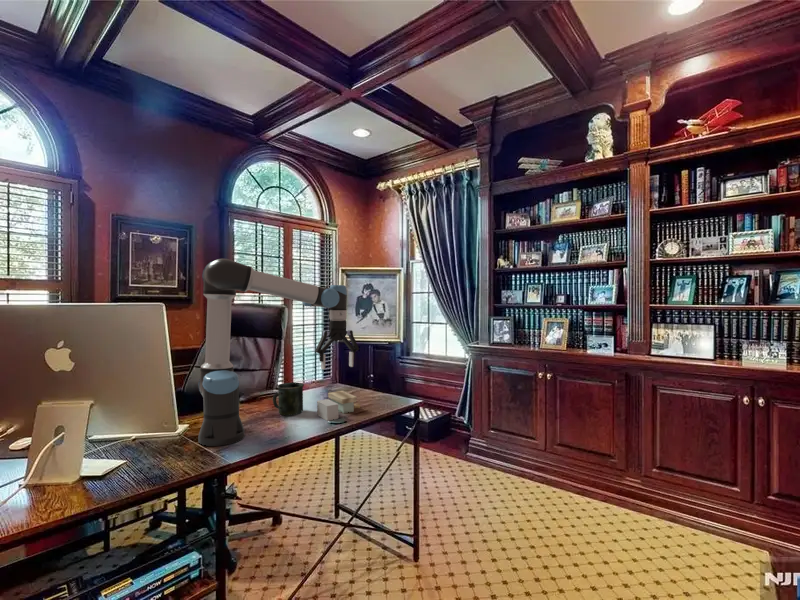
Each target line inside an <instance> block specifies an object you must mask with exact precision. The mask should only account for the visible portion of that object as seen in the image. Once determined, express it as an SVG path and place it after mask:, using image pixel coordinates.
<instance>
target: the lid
mask: <svg viewBox="0 0 800 600" xmlns="http://www.w3.org/2000/svg"><path fill="white" fill-rule="evenodd" d="M327 395H328V399H333V400H335V401H337V402H339V403H341V404H345V403H351V402H354V403H356V402H357V400H358V399H357V398H358V397H357V396H356V395H353V394H351V393H349V392H346V391H344V390H340V391H339V390H338V391H337V390H336V391H333V392H328V393H327Z"/></svg>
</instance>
